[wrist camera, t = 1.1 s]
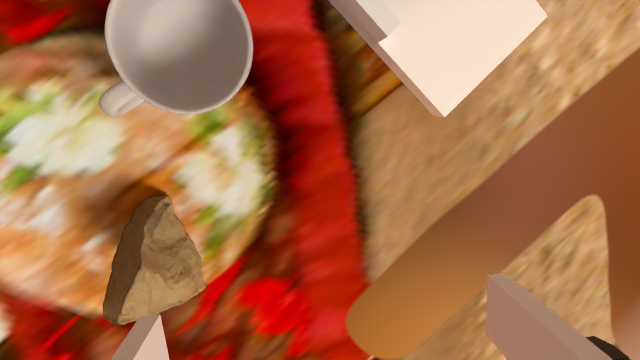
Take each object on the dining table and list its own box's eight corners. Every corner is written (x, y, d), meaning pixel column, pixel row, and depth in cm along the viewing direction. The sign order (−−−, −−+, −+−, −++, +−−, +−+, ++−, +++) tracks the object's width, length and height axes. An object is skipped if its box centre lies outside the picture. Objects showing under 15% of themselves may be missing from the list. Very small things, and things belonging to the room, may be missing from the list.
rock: (110, 184, 35) (82, 283, 36) (139, 210, 29) (106, 330, 30) (211, 199, 43) (188, 281, 43) (251, 223, 37) (224, 317, 37)
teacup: (224, -29, 34) (204, -67, 26) (279, 80, 37) (277, 75, 29) (92, 41, 34) (34, 25, 27) (156, 144, 37) (120, 157, 29)
